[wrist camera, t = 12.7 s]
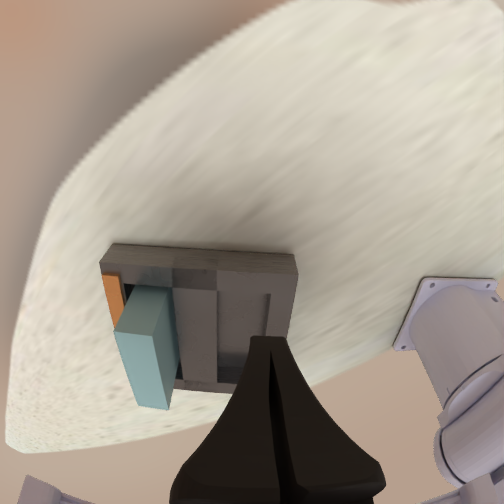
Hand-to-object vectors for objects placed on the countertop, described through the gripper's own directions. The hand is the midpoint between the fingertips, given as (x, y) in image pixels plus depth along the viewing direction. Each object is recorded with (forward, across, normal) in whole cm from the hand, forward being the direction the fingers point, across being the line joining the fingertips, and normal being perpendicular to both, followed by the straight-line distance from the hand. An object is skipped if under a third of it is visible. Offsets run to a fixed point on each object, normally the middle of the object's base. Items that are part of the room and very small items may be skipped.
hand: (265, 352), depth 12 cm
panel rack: (+9, +4, +7) cm, 12 cm away
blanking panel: (+9, +7, +7) cm, 13 cm away
